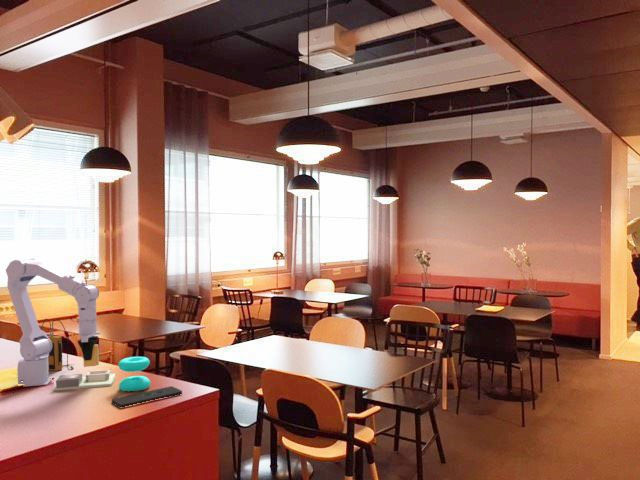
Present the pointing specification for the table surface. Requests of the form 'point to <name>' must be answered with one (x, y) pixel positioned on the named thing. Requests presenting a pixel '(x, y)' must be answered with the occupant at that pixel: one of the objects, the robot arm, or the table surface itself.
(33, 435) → the table surface
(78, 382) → the grey dome button
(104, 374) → the frame
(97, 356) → the plug
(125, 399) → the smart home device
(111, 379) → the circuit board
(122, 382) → the donuts
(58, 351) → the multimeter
